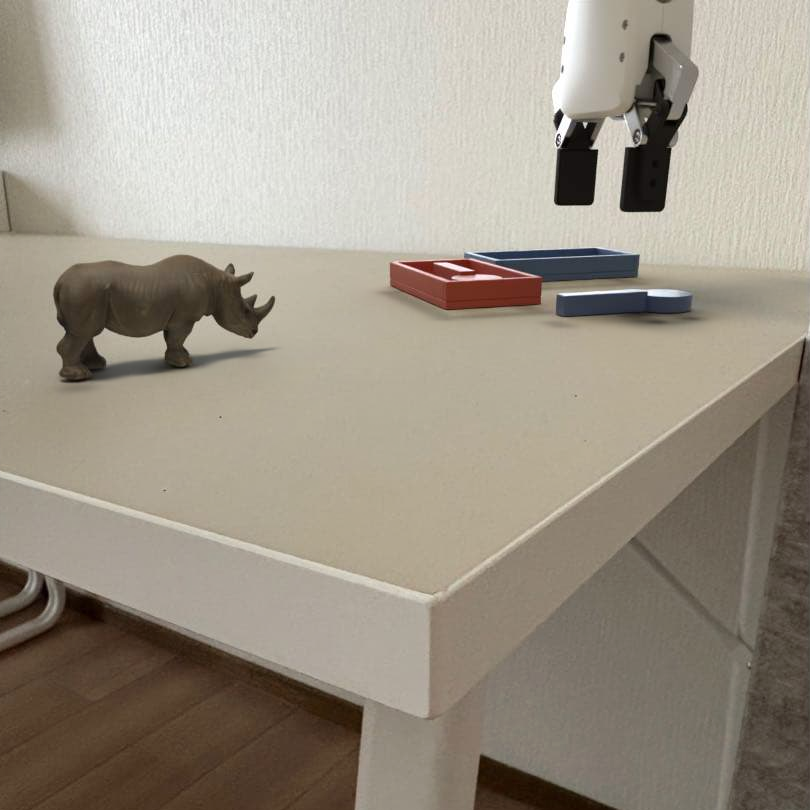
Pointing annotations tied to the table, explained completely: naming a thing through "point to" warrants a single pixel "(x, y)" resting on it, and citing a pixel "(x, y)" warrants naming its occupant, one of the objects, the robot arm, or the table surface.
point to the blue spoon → (623, 302)
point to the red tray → (466, 284)
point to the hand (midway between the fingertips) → (605, 208)
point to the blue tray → (565, 262)
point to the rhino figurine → (148, 306)
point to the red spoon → (457, 272)
